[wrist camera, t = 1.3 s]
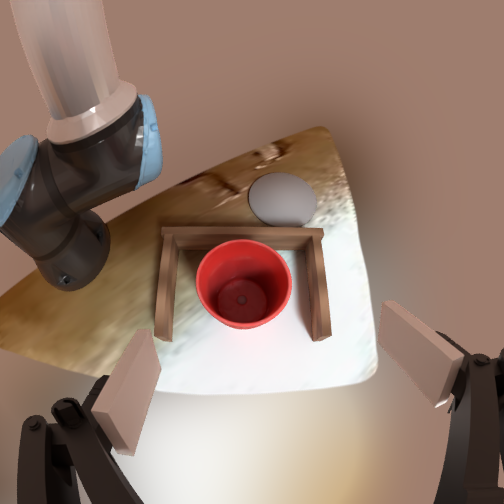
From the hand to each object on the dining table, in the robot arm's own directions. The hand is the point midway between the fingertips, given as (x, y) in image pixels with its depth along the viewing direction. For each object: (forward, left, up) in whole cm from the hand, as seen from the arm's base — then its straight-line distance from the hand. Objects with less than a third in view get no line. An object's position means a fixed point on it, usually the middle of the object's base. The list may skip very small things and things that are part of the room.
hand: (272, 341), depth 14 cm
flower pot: (-5, +7, -24) cm, 26 cm away
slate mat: (-8, +26, -24) cm, 37 cm away
